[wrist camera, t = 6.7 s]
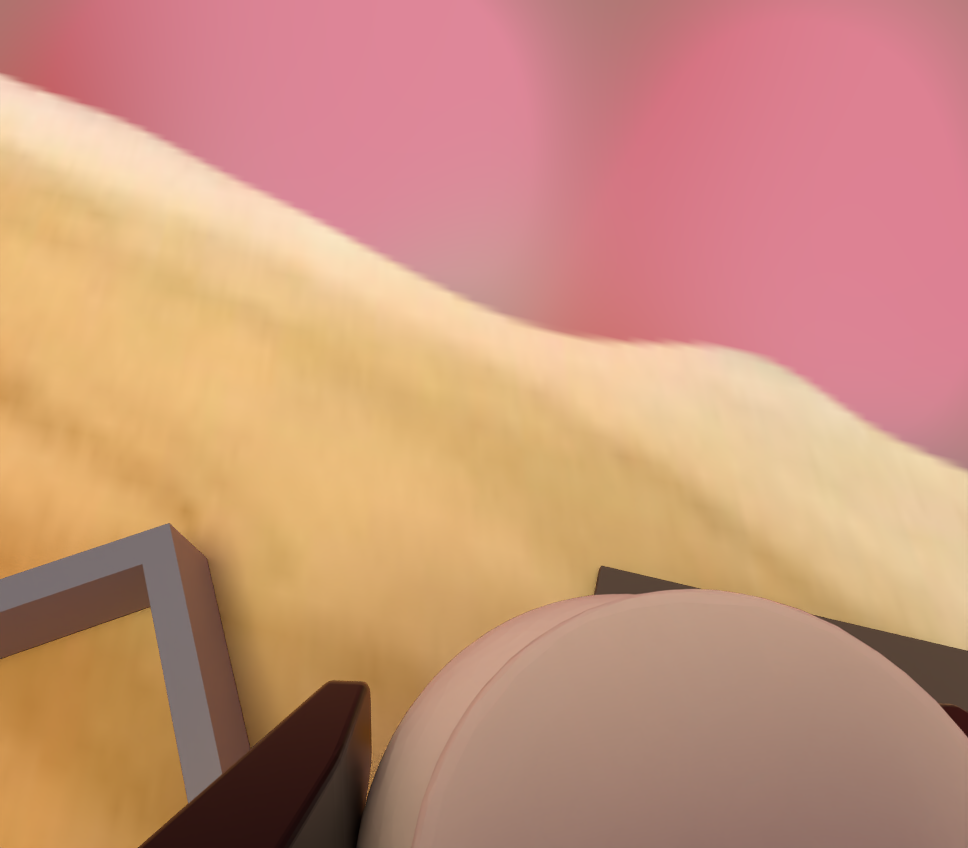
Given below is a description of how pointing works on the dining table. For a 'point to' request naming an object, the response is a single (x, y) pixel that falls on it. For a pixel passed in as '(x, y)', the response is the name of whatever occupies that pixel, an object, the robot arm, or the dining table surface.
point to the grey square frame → (178, 625)
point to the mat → (928, 664)
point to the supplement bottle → (670, 736)
